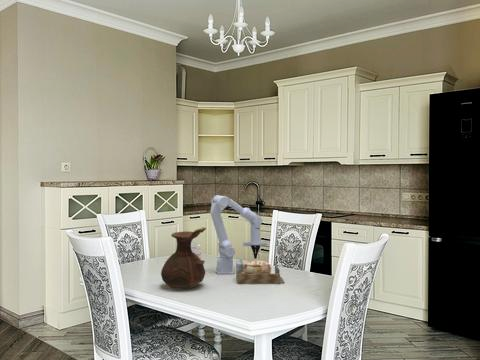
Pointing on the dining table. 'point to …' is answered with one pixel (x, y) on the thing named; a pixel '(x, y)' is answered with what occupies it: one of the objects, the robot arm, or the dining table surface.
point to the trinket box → (256, 267)
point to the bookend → (278, 273)
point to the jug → (183, 263)
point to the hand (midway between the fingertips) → (255, 258)
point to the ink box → (196, 248)
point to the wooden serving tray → (254, 276)
